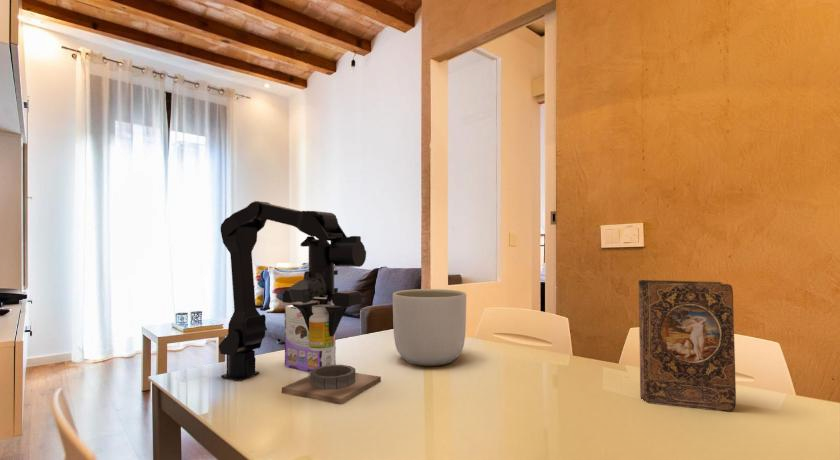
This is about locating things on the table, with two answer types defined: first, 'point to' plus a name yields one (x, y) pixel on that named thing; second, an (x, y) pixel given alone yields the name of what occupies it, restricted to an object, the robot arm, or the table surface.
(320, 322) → the supplement bottle
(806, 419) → the table surface
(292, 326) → the candy box
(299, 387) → the collar holder
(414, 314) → the planter
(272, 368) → the table surface
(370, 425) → the table surface
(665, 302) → the book
